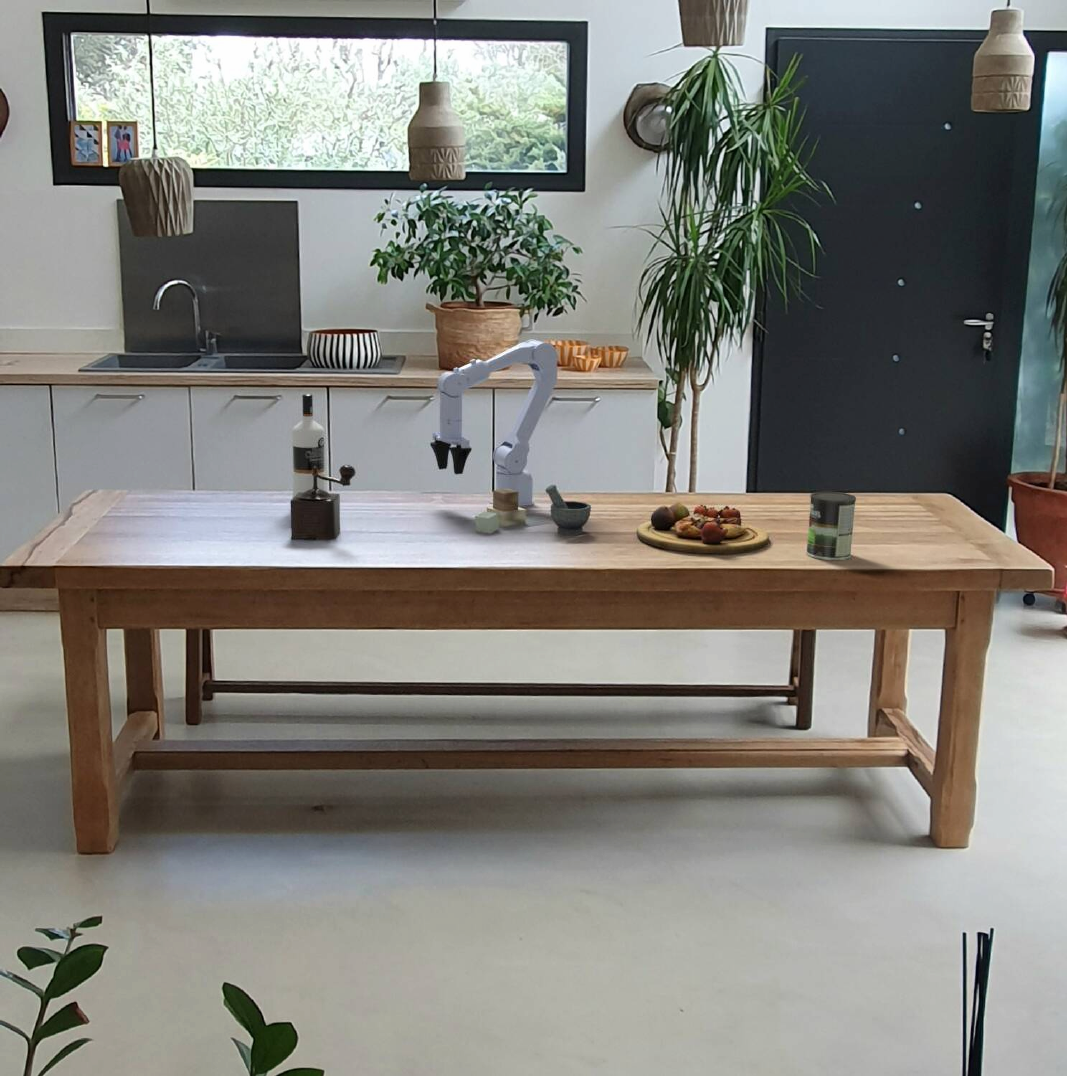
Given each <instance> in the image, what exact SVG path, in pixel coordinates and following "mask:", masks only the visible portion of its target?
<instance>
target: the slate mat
mask: <svg viewBox="0 0 1067 1076" xmlns="http://www.w3.org/2000/svg"><path fill="white" fill-rule="evenodd" d="M461 522H462V523H465V524H468V525H471V526H472V527H476V523H475V518H471V519H465V520H461ZM550 524H552V523H551V522H549V521H547V520H543V519H540V518H537V517H534V516H531V515H528V514H526V523H523V524H517V525H510V526H503V527H502V526H500V525H499V529H498V530H496V531H494V532H493V533H498V532H505V531H512V530H519V529H524V528H530V527H531V528H532V527H536V526H537V527H538V526H544V525H545V526H546V525H550Z"/></svg>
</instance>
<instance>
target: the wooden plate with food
mask: <svg viewBox="0 0 1067 1076" xmlns="http://www.w3.org/2000/svg"><path fill="white" fill-rule="evenodd" d="M724 506H725V507H723V508H721V509H720V510H719V511H718V510H717V509H715V506H713V507H707V506H706V505H705V504H700V505H697V506H696V507H694V510H693V514H690V510H689V509H688V507H687V506H686V505H684V504H682V503H681V502H680V501H677V502H676V503H674V504H672V505H671V506H669V507H668V505H666V504H664V505H661V506H659V507H658V508H656V509H655V510H654V511H653V512H652V514H651V515H650V520H649V521H646V522H643V523H641V524H640V525H639V526H638V527H637V528H636V531H635V532H636V534H635V535H636V536H637V538H638V539H639V541H640V540H641V541H642V542H644V543H646V544H649V545H652V546H654V547H658V548H660V549H661V548H662V549H667V550H672V551H679V552H685V553H686V552H687V553H696V554H697V553H698V554H719V555H720V554H721V555H722V554H738V553H739V554H740V553H748V552H752V551H753V552H754V551H756V550H760V549H763V548H765V547H766V546H767V545H768V543H769V540H770V537H769V535H768V533H767V532H766V531H765V530H763V529H761V528H759V527H757V526H754V525H750V524H748V523H747V524H746V523H744V522H742V516H741V511H740V510H738V509H737V508H735V507H732V508H730V507H729V506H728V505H724Z"/></svg>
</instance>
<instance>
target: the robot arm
mask: <svg viewBox="0 0 1067 1076" xmlns="http://www.w3.org/2000/svg"><path fill="white" fill-rule="evenodd" d="M559 359H560V357H559V354H558V353H557V349H556V348H555V346H554V345H553V344H552V343H550V342H544V341H540V340H538V339H534V338H532V339H528V340H526V341H525V342H524V341H523V342H520V343H518V344H516V345H514V346H513V347H510V348H508V349H507V350H504V351H503V352H501V353H499V354H497V355H495V356H493V357H491V358H489V359H487V360H485V361H484V360H482V359H474V358H473V359H470V360H469V363H468V364H465V365H463V366H461V367H459V368H458V367H454V368H453V372H451V371H446V372H443V373H441V375H440V376H439V377H438V379H437V382H436V383H435V384H436V387H437V390H438V392H439V431H436V432H432V440H433V441H432V442H430V443H429V445H430V447H431V448H432V451H433V453H434V456H435V459H436V464H437V467H438V469H439V470H446V469H447V468H448V465H449V463H448V462H449V454H451V458H452V462H453V473H454V475H462V474H463V473H464V470H465V466H466V463H467V459H468V458H469V455H470V453H471V452H472V447H471V446H470V439H468V438H466V437H464V436H463V395H464V393H465V392H466V390H468V389H470V388H472V387H475V386H477V385H479V384H482V383H483V382H486V381H487V380H488V381H489V379H490V376H491V374H492V373H494V372H497V371H499V370H502V369H504V368H506V367H509V366H511V365H514V364H516V363H523V364H528V366H529V367H530V369H531V371H532V373H533V376H534V378H535V379H534V382H533V384H532V386H531V388H530V390H529V392H528V394H527V396H526V398H525V401H524V403H523V405H522V407H521V410H520V411H519V413H518V415H517V417H516V420H515V423H514V424H513V426H512V428H511V431H510V432H509V434H507V435H506V436H505V437H503V439H502V442H501V443H500V444H499V445H497V447H495V449H494V450H493V453H492V457H493V462H494V463H495V464H496V466H497V467H496V469H495V490H500V489H507V488H508V489H511V490H515V491H518V507H525V506H530V505H531V506H532V505H535V502H533V494H534V493H533V491H534V490H533V488H534V487H533V486H534V482H533V477H532V474H531V472H529V470H527V469H525V468H526V466H527V463H528V454H529V453H530V452H529V451H530V443H529V441H530V439H531V437H532V435H533V433H534V430H535V429H536V426H537V424H538V422H539V420H540V419H541V416H542V414H543V412H544V409H545V407H546V406H547V403H548V401H549V399H550V397H551V395H552V392H553V390H554V389H555V386H556V385H557V382H558V362H559ZM452 445H453V447H452ZM488 503H489V504H492V505H493V500H489V501H488Z"/></svg>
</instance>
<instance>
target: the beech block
mask: <svg viewBox="0 0 1067 1076" xmlns="http://www.w3.org/2000/svg"><path fill="white" fill-rule="evenodd" d="M486 512H490V513H498V522H499V525H500V526H502V527H503V526H510V525H517V524H523V523H526V515H527V509H526V508H522V507H521V506H518V509H517V510H510V511H501V510H498V509H494V508H493V506H488V507H486Z"/></svg>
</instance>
